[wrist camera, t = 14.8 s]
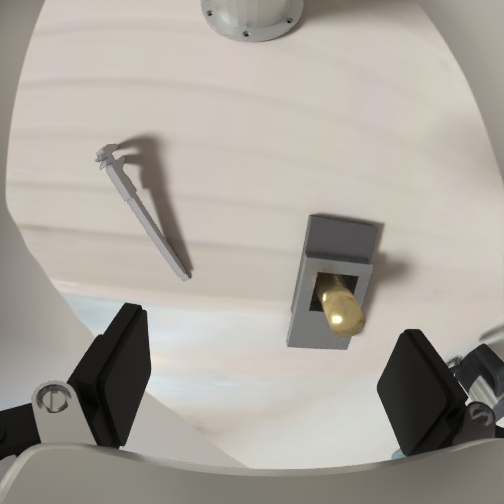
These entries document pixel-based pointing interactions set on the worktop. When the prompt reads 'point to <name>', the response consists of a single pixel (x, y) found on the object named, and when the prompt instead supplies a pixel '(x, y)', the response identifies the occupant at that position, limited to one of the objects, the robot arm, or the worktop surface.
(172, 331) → the worktop surface
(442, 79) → the worktop surface
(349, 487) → the robot arm
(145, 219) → the caliper
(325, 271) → the grey socket block
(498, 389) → the milk frother
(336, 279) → the pin
